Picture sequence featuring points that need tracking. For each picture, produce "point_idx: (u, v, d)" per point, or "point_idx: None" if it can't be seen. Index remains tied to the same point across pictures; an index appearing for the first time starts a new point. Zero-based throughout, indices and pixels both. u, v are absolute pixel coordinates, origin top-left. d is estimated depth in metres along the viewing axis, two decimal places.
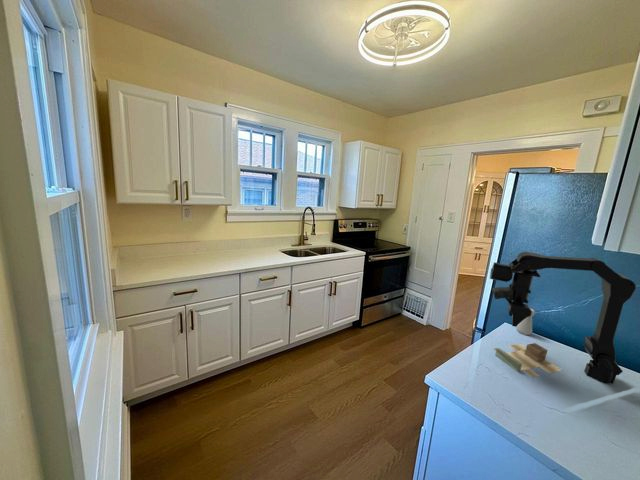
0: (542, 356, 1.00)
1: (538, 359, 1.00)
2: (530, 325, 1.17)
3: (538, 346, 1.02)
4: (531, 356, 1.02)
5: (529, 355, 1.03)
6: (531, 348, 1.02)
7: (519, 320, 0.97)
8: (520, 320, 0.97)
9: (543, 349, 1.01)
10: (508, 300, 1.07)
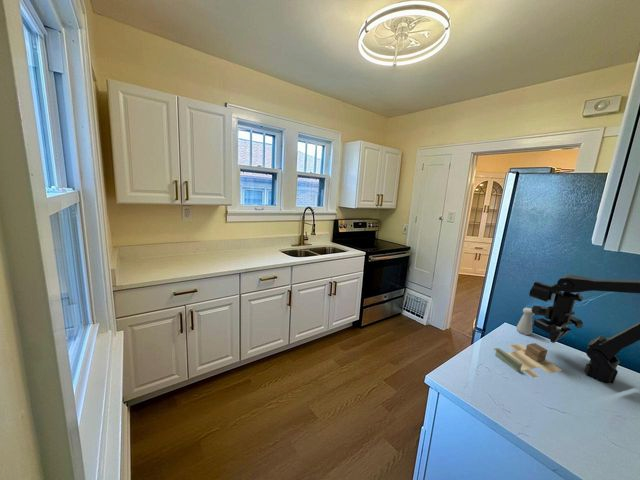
0: (542, 356, 1.00)
1: (538, 359, 1.00)
2: (530, 325, 1.17)
3: (538, 346, 1.02)
4: (531, 356, 1.02)
5: (529, 355, 1.03)
6: (531, 348, 1.02)
7: (554, 336, 1.01)
8: (555, 336, 1.01)
9: (543, 349, 1.01)
10: None
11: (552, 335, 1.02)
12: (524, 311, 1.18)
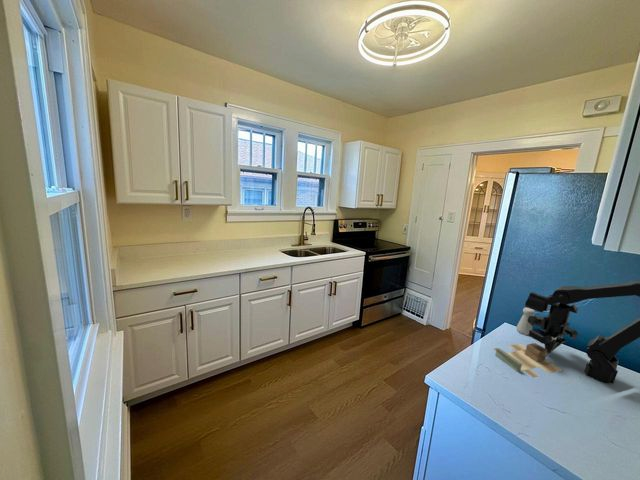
0: (542, 356, 1.00)
1: (538, 359, 1.00)
2: (530, 325, 1.17)
3: (538, 346, 1.02)
4: (531, 356, 1.02)
5: (529, 355, 1.03)
6: (531, 348, 1.02)
7: (550, 347, 1.02)
8: (550, 347, 1.02)
9: (543, 349, 1.01)
10: None
11: (547, 345, 1.03)
12: (524, 311, 1.18)
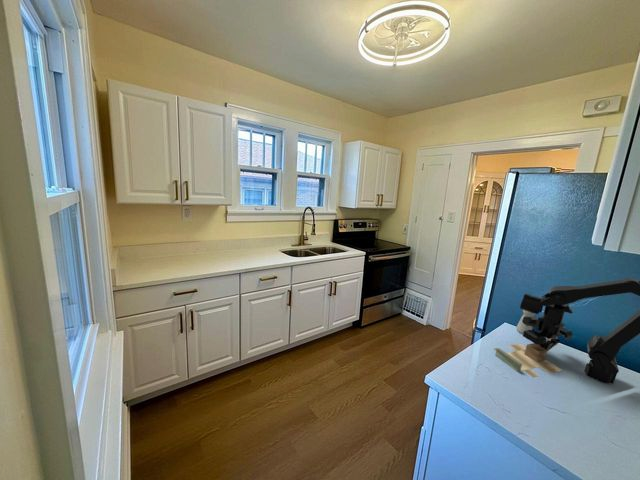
0: (542, 356, 1.00)
1: (538, 359, 1.00)
2: None
3: (538, 346, 1.02)
4: (531, 356, 1.02)
5: (529, 355, 1.02)
6: (531, 348, 1.02)
7: (544, 347, 1.02)
8: (545, 348, 1.01)
9: (543, 349, 1.01)
10: None
11: (542, 346, 1.03)
12: (524, 311, 1.18)
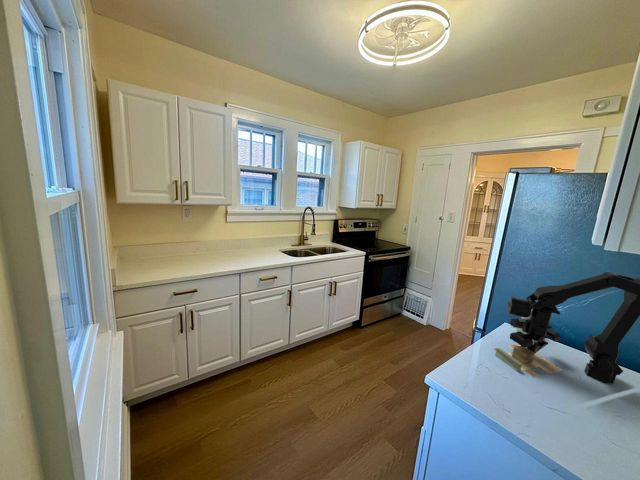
0: (529, 359, 0.99)
1: (525, 362, 0.98)
2: None
3: (525, 348, 1.00)
4: (518, 359, 1.00)
5: (516, 358, 1.01)
6: (518, 350, 1.00)
7: (532, 350, 1.00)
8: (532, 350, 1.00)
9: (530, 352, 0.99)
10: None
11: (529, 348, 1.01)
12: None
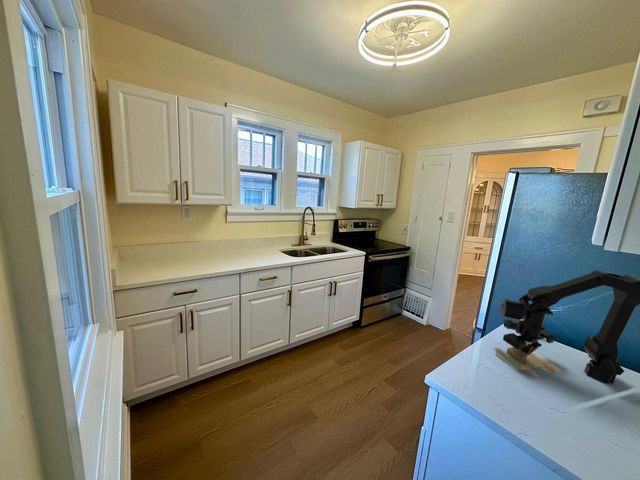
0: (522, 361, 0.98)
1: None
2: None
3: (519, 350, 0.99)
4: None
5: None
6: (511, 352, 0.99)
7: (525, 351, 0.99)
8: (526, 351, 0.99)
9: (523, 353, 0.98)
10: None
11: (523, 350, 1.00)
12: None
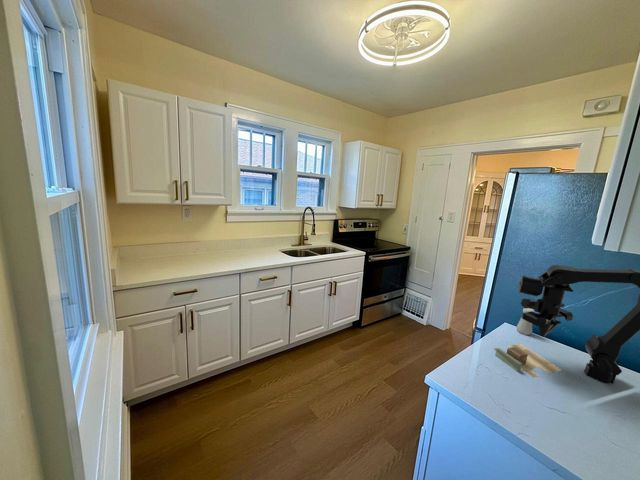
0: (522, 361, 0.98)
1: None
2: (530, 325, 1.17)
3: (519, 350, 0.99)
4: None
5: None
6: (511, 352, 0.99)
7: (544, 330, 0.98)
8: (545, 330, 0.98)
9: (523, 353, 0.98)
10: None
11: (542, 329, 0.99)
12: (524, 311, 1.18)
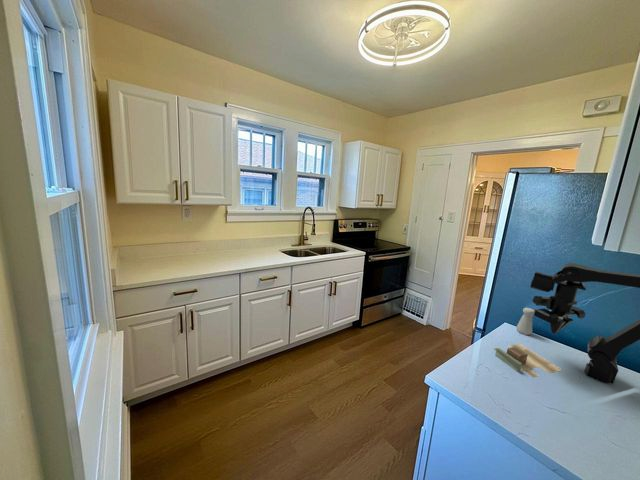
0: (522, 361, 0.98)
1: None
2: (530, 325, 1.17)
3: (519, 350, 0.99)
4: None
5: None
6: (511, 352, 0.99)
7: (556, 327, 0.99)
8: (557, 327, 0.98)
9: (523, 353, 0.98)
10: None
11: (553, 326, 0.99)
12: (524, 311, 1.18)
